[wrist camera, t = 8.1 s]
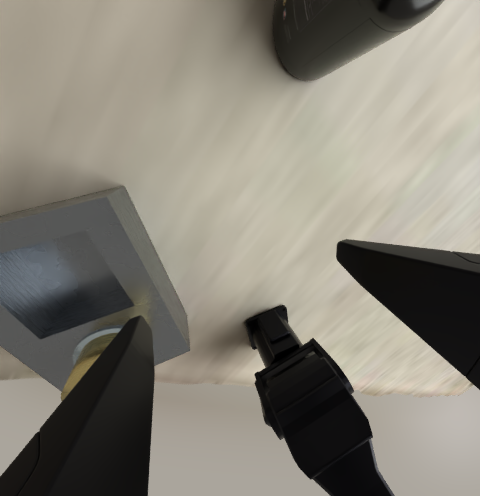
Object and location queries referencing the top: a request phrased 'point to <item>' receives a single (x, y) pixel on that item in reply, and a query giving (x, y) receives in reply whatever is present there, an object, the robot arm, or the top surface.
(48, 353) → the housing
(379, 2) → the supplement bottle
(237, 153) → the top surface
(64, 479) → the robot arm
